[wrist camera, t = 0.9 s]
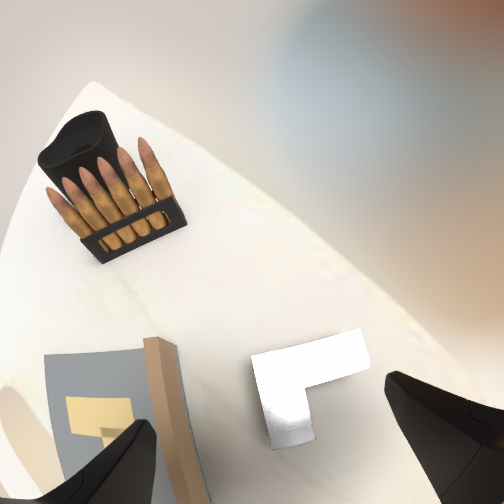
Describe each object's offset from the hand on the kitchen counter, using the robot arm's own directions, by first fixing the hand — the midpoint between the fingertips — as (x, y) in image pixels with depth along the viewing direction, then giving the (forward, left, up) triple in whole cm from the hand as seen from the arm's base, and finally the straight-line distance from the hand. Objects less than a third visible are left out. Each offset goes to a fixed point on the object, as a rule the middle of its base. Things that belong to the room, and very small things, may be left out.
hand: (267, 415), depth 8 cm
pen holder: (+27, +16, -14) cm, 34 cm away
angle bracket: (0, -4, -14) cm, 14 cm away
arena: (-3, +15, -14) cm, 21 cm away
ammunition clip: (+18, +10, -14) cm, 25 cm away
